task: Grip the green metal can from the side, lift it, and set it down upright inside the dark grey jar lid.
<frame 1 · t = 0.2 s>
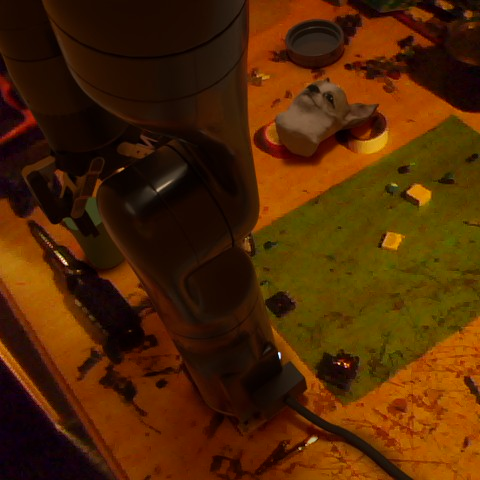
hand: (131, 208, 66), 17 cm above the workbench, tool pointing down, fingers open, 8 cm apart
dark grey jar lid: (315, 50, 105), on the workbench
green can: (108, 252, 85), on the workbench
ceramic sculpture: (320, 132, 94), on the workbench
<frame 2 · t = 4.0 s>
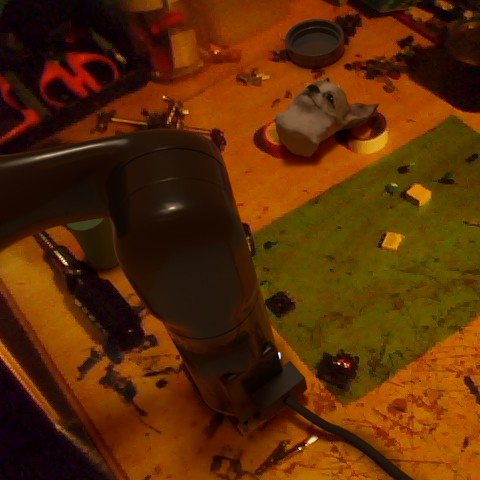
nothing on the workbench moved.
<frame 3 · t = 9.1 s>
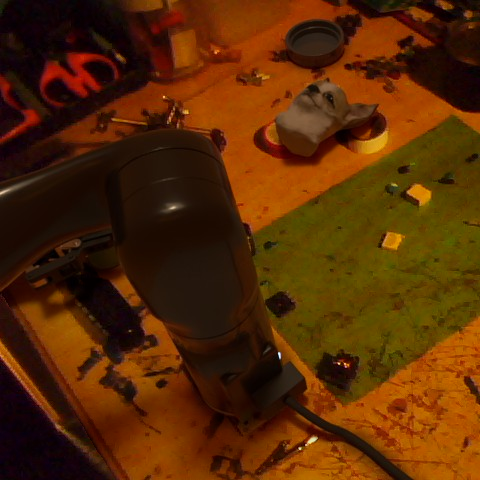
hand: (113, 218, 80), 6 cm above the workbench, tool horizontal, fingers closed on green can, 5 cm apart
green can: (108, 252, 85), on the workbench, touching gripper
everything else where it was.
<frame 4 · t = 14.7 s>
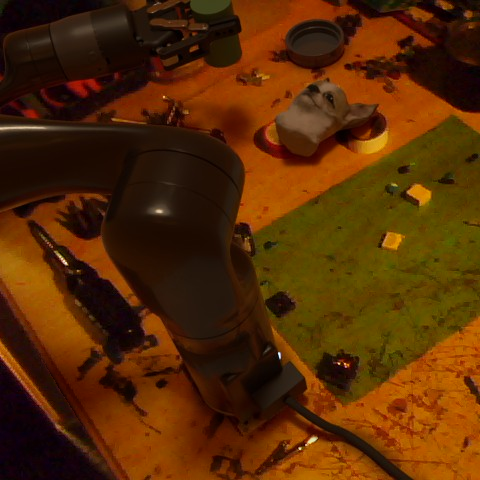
hand: (234, 10, 83), 18 cm above the workbench, tool horizontal, fingers closed on green can, 5 cm apart
green can: (223, 55, 87), point 12 cm above the workbench, touching gripper
everything else where it was.
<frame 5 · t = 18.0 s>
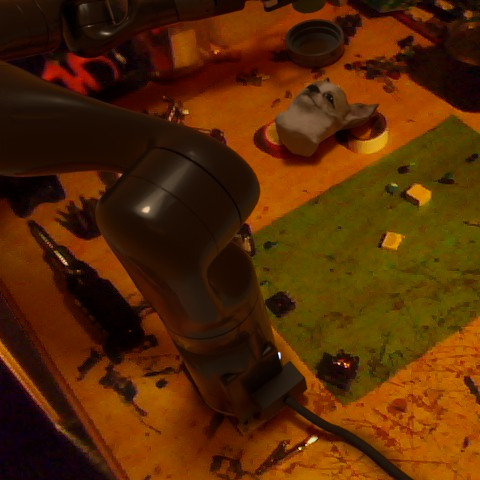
green can: (308, 3, 98), point 8 cm above the workbench, touching gripper
everything else where it was.
when the fingers open (7 cm above the workbench, at t = 20.5 s): green can stays where it is, resting on dark grey jar lid.
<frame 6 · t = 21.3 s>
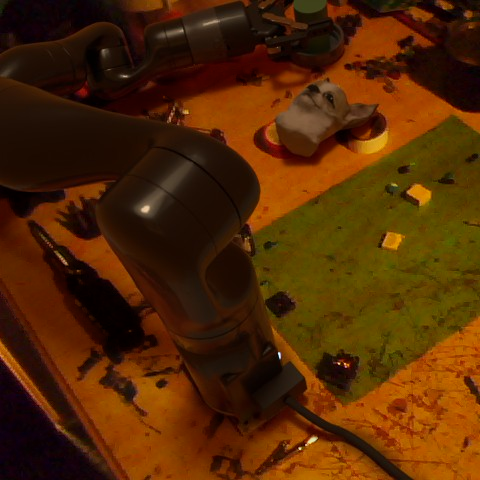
hand: (324, 7, 99), 7 cm above the workbench, tool horizontal, fingers open, 8 cm apart
green can: (314, 47, 105), resting on dark grey jar lid
everything else where it was.
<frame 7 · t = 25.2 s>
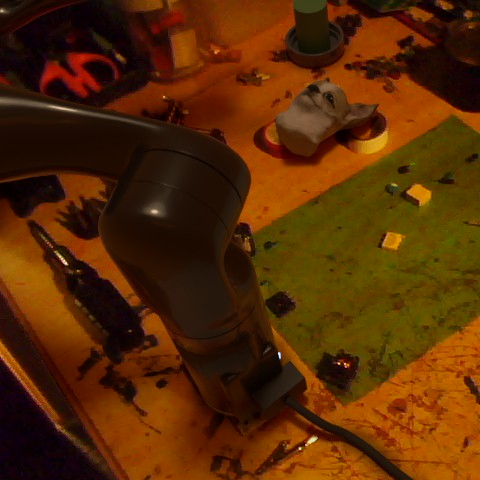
nothing on the workbench moved.
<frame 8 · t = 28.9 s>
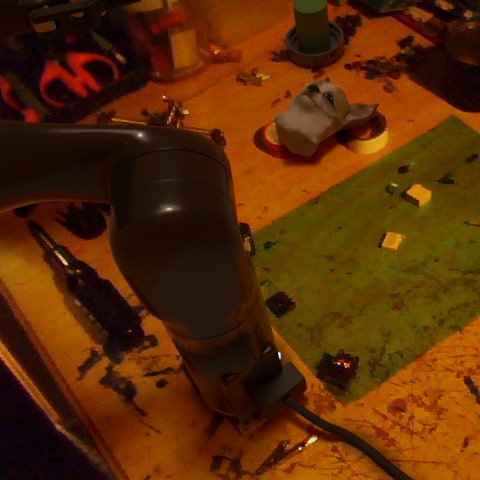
nothing on the workbench moved.
at the end: green can 0.2 cm off-centre in the dark grey jar lid, point 0.5 cm above the dark grey jar lid's base; green can tilted 0° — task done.
